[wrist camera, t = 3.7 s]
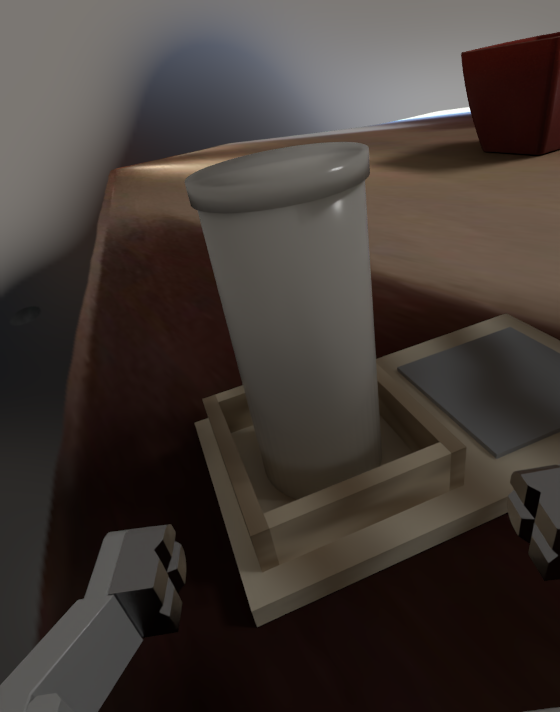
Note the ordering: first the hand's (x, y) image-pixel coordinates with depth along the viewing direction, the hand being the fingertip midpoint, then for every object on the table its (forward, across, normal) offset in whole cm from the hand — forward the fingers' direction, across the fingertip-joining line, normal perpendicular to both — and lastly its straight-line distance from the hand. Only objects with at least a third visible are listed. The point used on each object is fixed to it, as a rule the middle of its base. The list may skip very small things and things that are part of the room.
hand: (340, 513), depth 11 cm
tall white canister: (+12, 0, +9) cm, 15 cm away
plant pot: (+81, -48, +10) cm, 94 cm away
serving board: (+12, -6, +10) cm, 17 cm away
